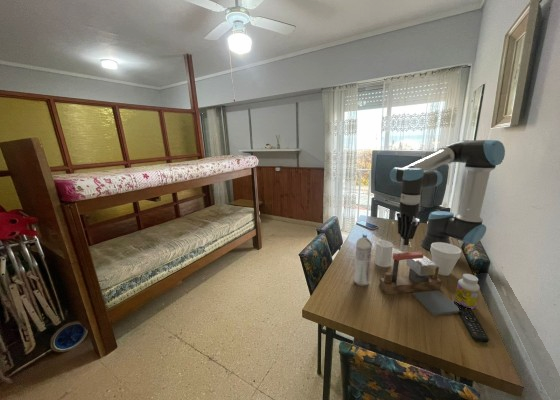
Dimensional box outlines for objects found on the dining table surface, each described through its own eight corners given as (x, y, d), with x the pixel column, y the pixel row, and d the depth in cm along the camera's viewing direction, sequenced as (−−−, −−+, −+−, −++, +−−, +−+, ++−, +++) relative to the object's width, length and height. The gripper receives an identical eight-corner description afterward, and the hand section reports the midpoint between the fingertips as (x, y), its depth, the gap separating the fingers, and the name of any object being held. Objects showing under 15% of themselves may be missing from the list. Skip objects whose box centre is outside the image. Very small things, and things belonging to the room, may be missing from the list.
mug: (386, 272, 114) (389, 251, 111) (370, 266, 119) (371, 246, 116) (392, 262, 122) (395, 242, 119) (377, 257, 128) (378, 238, 125)
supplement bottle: (450, 299, 94) (455, 272, 90) (464, 297, 94) (470, 271, 91) (464, 310, 87) (470, 282, 84) (479, 309, 88) (486, 281, 84)
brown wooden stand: (430, 280, 106) (435, 252, 102) (440, 288, 100) (445, 258, 96) (379, 285, 104) (382, 256, 100) (386, 294, 98) (389, 263, 94)
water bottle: (361, 288, 102) (365, 239, 96) (350, 280, 108) (353, 233, 102) (371, 283, 105) (376, 235, 99) (360, 276, 111) (364, 230, 105)
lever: (418, 254, 100) (418, 251, 99) (423, 258, 96) (424, 254, 96) (391, 257, 98) (391, 253, 98) (395, 260, 95) (395, 257, 95)
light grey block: (420, 263, 104) (421, 254, 103) (434, 274, 96) (436, 264, 94) (406, 264, 104) (407, 255, 102) (419, 275, 95) (421, 265, 94)
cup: (430, 276, 109) (435, 251, 106) (424, 263, 120) (428, 240, 117) (460, 280, 105) (466, 255, 101) (451, 267, 116) (456, 243, 112)
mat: (437, 292, 98) (438, 290, 98) (461, 312, 86) (462, 310, 86) (412, 294, 97) (412, 292, 97) (433, 315, 85) (434, 313, 85)
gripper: (392, 199, 104) (388, 244, 110) (411, 207, 92) (404, 257, 98) (407, 198, 105) (402, 243, 111) (428, 206, 92) (420, 256, 99)
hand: (403, 250), depth 104 cm, fingers closed
